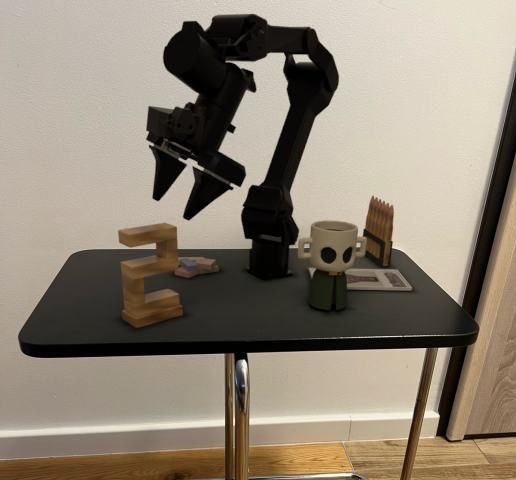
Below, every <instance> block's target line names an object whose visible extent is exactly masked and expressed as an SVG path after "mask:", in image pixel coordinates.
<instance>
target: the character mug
mask: <svg viewBox="0 0 516 480" xmlns="http://www.w3.org/2000/svg"><path fill="white" fill-rule="evenodd" d="M358 235H359V227H358V226H357V225H356V224H355V223H352V222H347V221H343V220H342V221H341V220H328V219H327V220H318V221H314V222H312V223H311V224H310V233H309V237H301V238H299V239H298V241H297V242H298V243H297V258H298V259H300V260H308V263H309V265H310V266H311V268H316V270H315V271H314V273H313V277H312V279H311V282H310V285H309V290H308V296H307V301H308V303H309V304H310V306H312V307H314V308H316V309H319V310H324V311H331V310H332V309H331V308H332V306H335V310H336V311H338V310H342V309H345V308H346V307H347V305H348V289H347V277H346V274H345V271H346V270H349V269H352V268H353V266H354V264H355V261H356V259H358V258H363V257H366V256H365V252H366V244H367V238H366V237H363V236H358ZM357 244H359V245H360V246H359V251H357ZM305 245H308V246H309V247H308V252H305Z"/></svg>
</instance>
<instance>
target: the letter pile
mask: <svg viewBox="0 0 516 480" xmlns="http://www.w3.org/2000/svg"><path fill="white" fill-rule="evenodd" d="M178 266H180V267H178V270H174V276H178V277H182V278H187V279H190V278H192V277H195V276H197V275H203V274H210V273H217V272H218V273H219V271H220V267H219V265H218V264H217V259H213V258H206V257H204V256H186V257H185V256H183V257H182V256H181V257H179V256H178Z"/></svg>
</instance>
